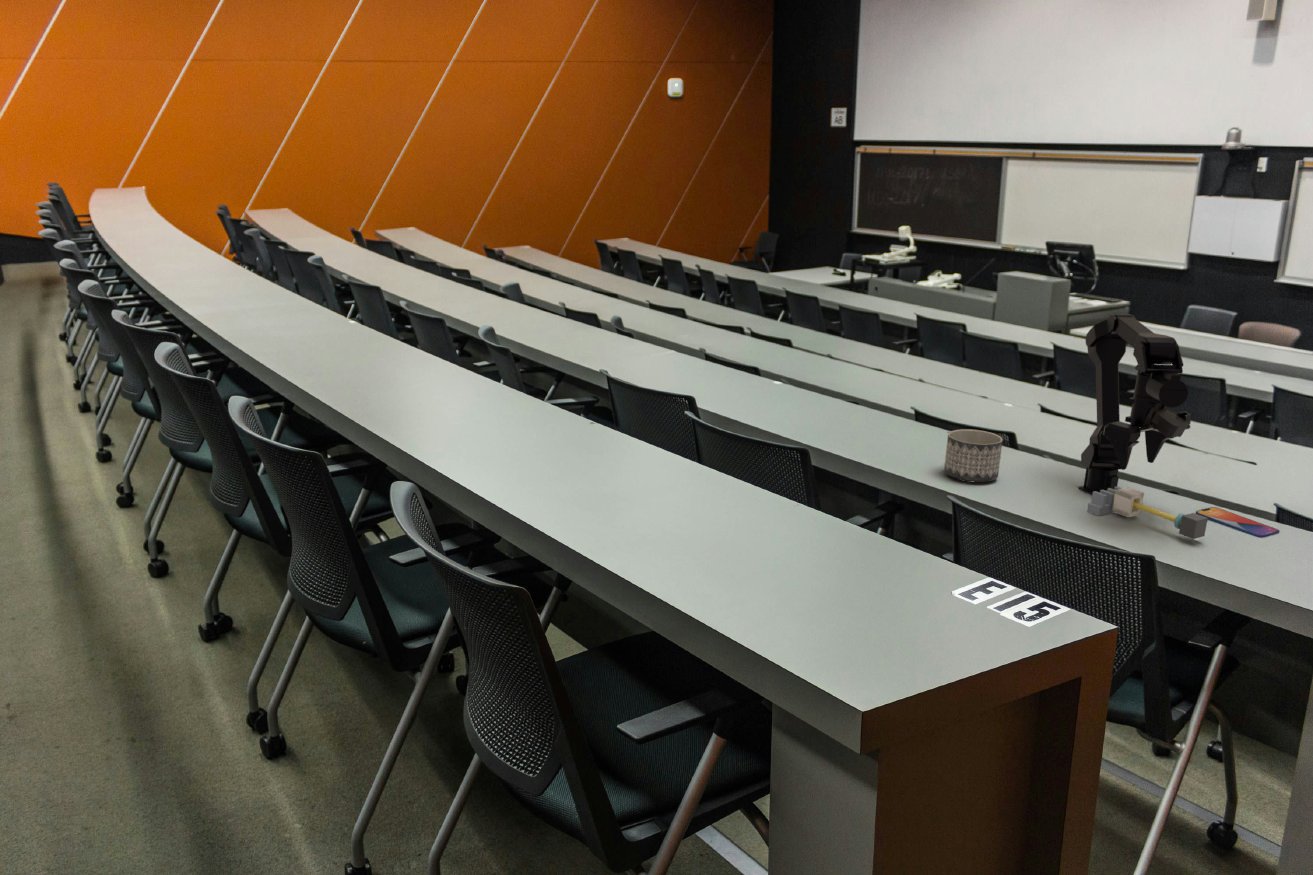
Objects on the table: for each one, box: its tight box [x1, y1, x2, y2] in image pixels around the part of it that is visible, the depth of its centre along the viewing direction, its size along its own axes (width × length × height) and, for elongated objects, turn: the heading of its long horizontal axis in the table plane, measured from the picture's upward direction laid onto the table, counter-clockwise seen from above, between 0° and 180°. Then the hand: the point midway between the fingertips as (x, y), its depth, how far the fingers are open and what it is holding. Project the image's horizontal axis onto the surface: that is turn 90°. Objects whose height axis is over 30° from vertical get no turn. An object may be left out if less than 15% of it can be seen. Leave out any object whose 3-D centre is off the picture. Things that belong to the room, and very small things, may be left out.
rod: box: [1113, 494, 1177, 523], centre depth 205 cm, size 20×1×1 cm, turn 28°
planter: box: [943, 428, 1004, 483], centre depth 233 cm, size 13×13×10 cm
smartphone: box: [1195, 506, 1280, 539], centre depth 207 cm, size 7×15×1 cm, turn 28°
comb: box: [1086, 486, 1124, 517], centre depth 213 cm, size 3×10×5 cm, turn 118°
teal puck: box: [1173, 513, 1185, 530], centre depth 198 cm, size 1×3×3 cm, turn 118°
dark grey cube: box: [1178, 512, 1209, 540], centre depth 196 cm, size 4×4×4 cm
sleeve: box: [1112, 487, 1145, 518], centre depth 209 cm, size 4×4×5 cm
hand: (1137, 465), depth 206 cm, fingers open, 9 cm apart
